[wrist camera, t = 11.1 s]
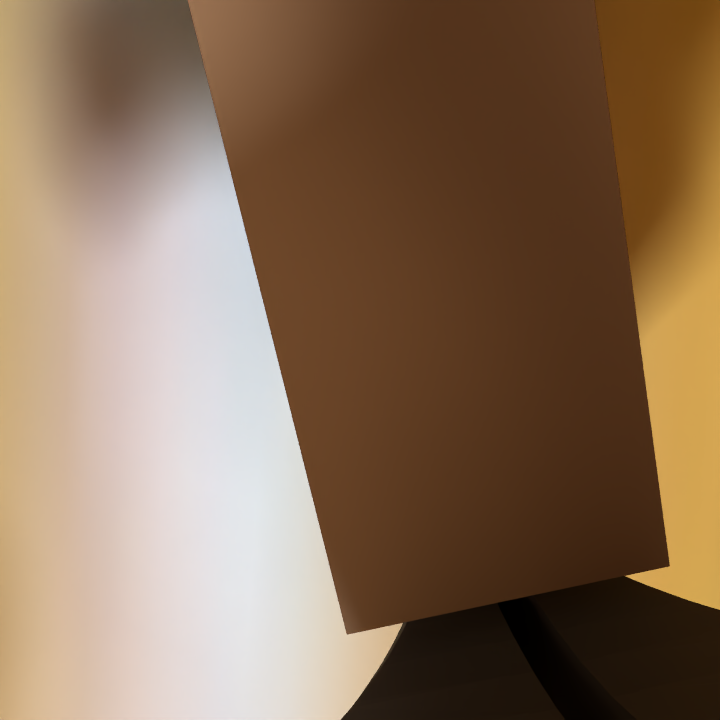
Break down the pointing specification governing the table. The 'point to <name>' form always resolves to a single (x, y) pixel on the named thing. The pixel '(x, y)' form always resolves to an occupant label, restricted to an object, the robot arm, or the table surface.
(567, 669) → the robot arm
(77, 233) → the table surface
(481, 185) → the tall brown box
